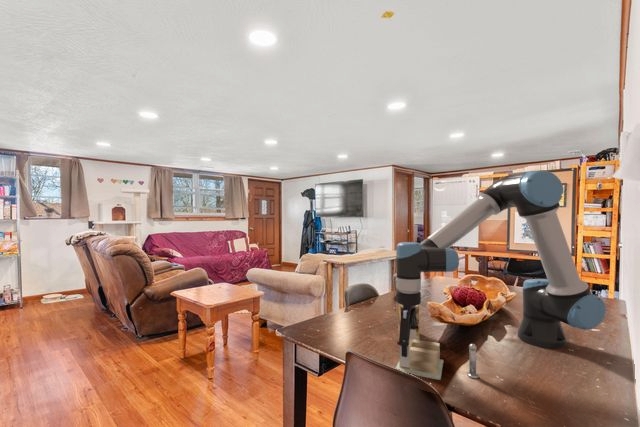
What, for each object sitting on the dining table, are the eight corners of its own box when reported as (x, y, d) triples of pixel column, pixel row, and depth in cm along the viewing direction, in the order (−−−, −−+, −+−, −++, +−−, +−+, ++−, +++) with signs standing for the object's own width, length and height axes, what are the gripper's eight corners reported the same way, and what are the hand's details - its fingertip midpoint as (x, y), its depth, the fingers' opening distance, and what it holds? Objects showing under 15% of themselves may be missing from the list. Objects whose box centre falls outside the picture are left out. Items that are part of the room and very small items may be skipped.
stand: (478, 374, 94) (478, 343, 94) (478, 379, 91) (478, 346, 91) (467, 372, 95) (467, 341, 95) (467, 377, 92) (467, 345, 92)
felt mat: (443, 361, 102) (443, 359, 102) (440, 380, 91) (440, 378, 91) (402, 353, 108) (402, 352, 108) (395, 370, 96) (395, 369, 96)
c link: (399, 367, 98) (399, 347, 98) (404, 355, 106) (404, 337, 106) (437, 374, 93) (437, 354, 93) (439, 361, 101) (439, 343, 101)
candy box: (420, 349, 112) (420, 306, 112) (409, 350, 111) (409, 306, 111) (407, 339, 120) (407, 299, 120) (397, 340, 119) (397, 300, 119)
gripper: (403, 281, 114) (403, 340, 114) (388, 298, 91) (388, 372, 91) (425, 283, 111) (425, 344, 111) (414, 301, 88) (414, 377, 88)
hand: (408, 357), depth 101 cm, fingers open, 13 cm apart
